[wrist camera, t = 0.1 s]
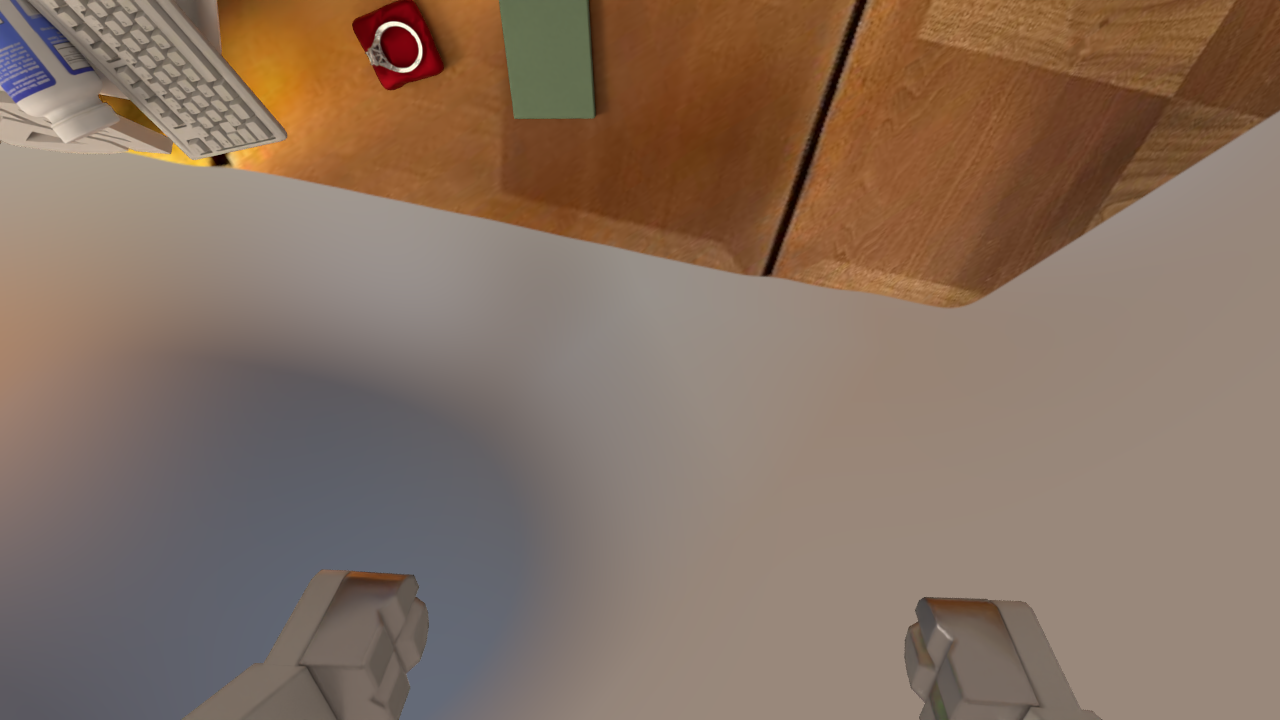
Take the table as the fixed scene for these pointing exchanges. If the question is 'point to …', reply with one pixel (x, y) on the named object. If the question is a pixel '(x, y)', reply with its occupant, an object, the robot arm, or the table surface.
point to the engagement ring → (398, 44)
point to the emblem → (21, 129)
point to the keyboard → (167, 72)
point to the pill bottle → (49, 74)
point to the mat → (549, 58)
